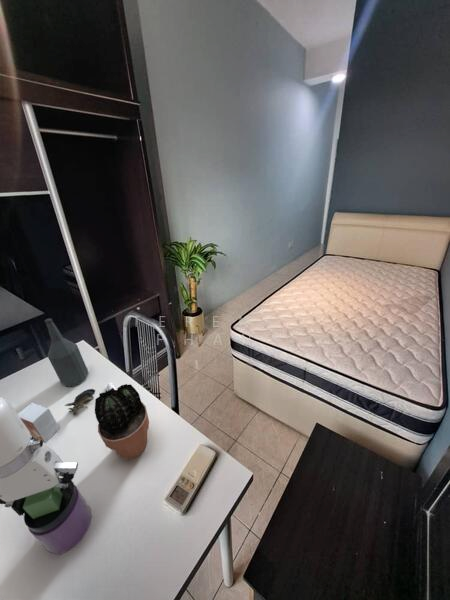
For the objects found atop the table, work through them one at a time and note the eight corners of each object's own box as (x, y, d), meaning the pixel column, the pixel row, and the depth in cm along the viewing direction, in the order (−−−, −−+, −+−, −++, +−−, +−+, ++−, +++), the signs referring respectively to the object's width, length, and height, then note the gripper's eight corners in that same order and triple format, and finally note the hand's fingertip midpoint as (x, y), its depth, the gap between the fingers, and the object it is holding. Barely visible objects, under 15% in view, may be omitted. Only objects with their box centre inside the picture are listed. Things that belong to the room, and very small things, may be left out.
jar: (39, 562, 55) (15, 540, 50) (52, 510, 64) (33, 486, 58) (88, 543, 58) (70, 520, 52) (94, 495, 66) (79, 471, 61)
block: (32, 519, 52) (22, 507, 50) (40, 493, 56) (31, 481, 54) (59, 509, 53) (50, 498, 51) (64, 485, 58) (56, 473, 55)
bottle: (85, 366, 111) (60, 309, 97) (92, 377, 105) (66, 318, 91) (59, 378, 105) (29, 320, 91) (65, 391, 99) (33, 330, 85)
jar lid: (21, 541, 51) (15, 536, 50) (36, 491, 59) (32, 486, 58) (71, 522, 53) (67, 517, 52) (80, 477, 61) (77, 471, 60)
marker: (106, 385, 101) (104, 381, 99) (111, 383, 102) (110, 378, 101) (122, 414, 88) (121, 409, 87) (128, 410, 90) (127, 406, 88)
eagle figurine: (86, 416, 87) (101, 393, 94) (68, 406, 84) (85, 382, 91) (76, 418, 91) (91, 396, 98) (59, 409, 88) (76, 386, 95)
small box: (28, 436, 83) (14, 415, 78) (44, 421, 87) (31, 401, 82) (45, 443, 80) (31, 423, 75) (60, 428, 85) (48, 407, 80)
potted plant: (156, 459, 74) (137, 402, 62) (107, 475, 71) (78, 418, 59) (154, 420, 85) (138, 366, 74) (112, 432, 82) (89, 378, 70)
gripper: (67, 422, 51) (92, 468, 60) (-34, 450, 47) (9, 495, 56) (57, 457, 45) (87, 503, 53) (-60, 493, 41) (-7, 537, 49)
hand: (47, 499), depth 54 cm, fingers open, 8 cm apart
